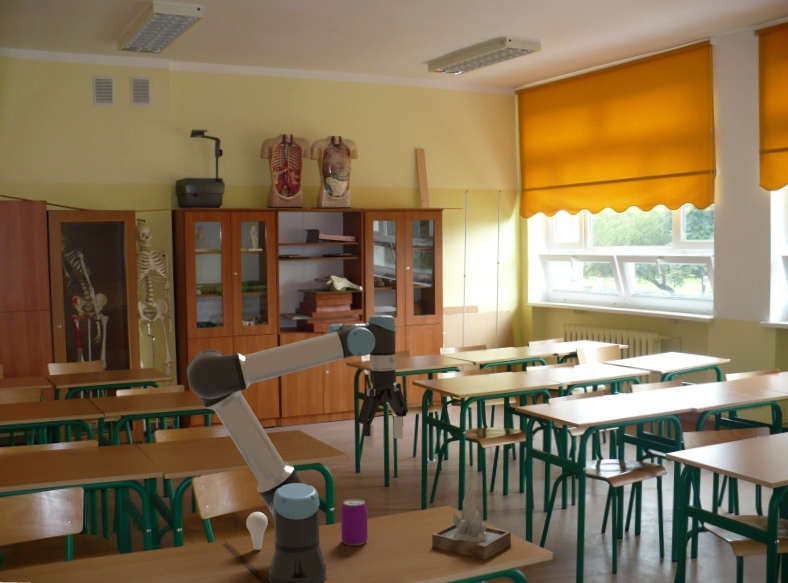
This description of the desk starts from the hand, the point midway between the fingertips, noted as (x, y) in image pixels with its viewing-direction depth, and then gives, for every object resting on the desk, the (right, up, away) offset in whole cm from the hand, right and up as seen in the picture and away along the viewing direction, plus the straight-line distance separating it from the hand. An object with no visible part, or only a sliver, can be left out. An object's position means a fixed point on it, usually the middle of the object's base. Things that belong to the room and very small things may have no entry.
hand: (384, 442), depth 227 cm
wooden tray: (+25, -30, +2) cm, 39 cm away
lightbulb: (-37, -32, +2) cm, 48 cm away
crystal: (+25, -28, +1) cm, 37 cm away
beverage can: (-9, -31, +7) cm, 33 cm away
